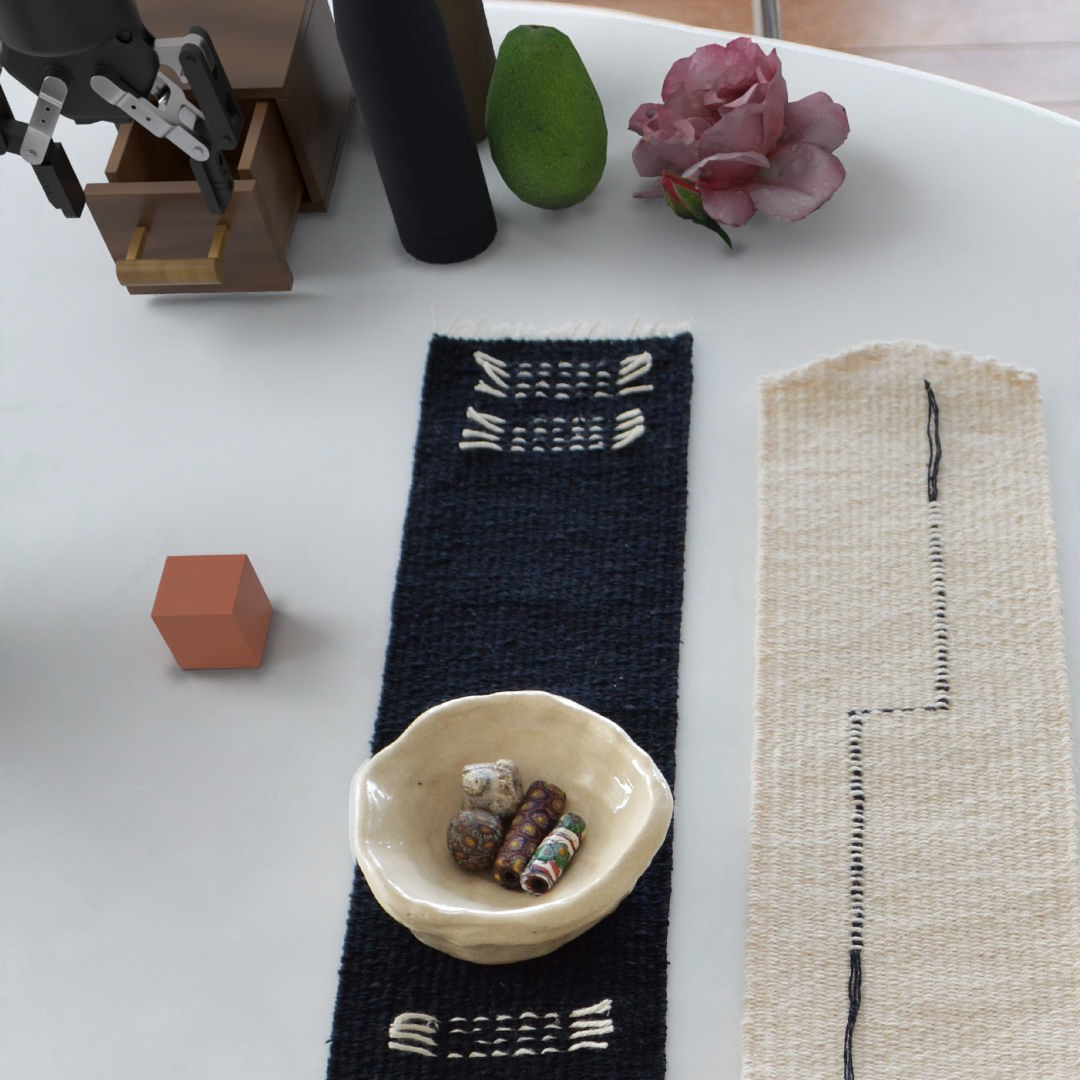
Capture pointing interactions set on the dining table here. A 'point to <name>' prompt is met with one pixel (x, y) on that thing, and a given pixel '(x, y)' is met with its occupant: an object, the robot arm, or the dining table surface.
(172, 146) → the drawer
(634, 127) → the flower
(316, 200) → the cabinet
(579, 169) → the fruit
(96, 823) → the dining table surface
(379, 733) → the dining table surface
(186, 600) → the block
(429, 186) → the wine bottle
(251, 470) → the dining table surface
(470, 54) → the pillar candle
